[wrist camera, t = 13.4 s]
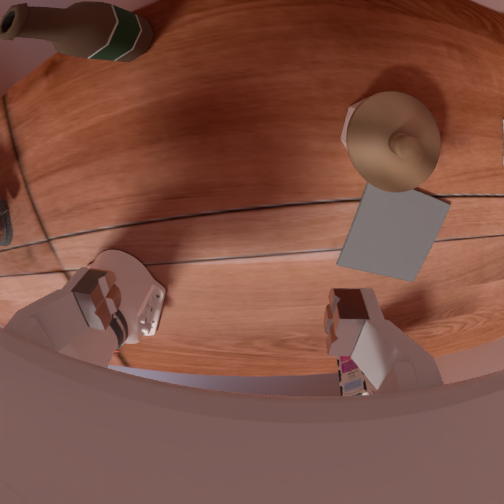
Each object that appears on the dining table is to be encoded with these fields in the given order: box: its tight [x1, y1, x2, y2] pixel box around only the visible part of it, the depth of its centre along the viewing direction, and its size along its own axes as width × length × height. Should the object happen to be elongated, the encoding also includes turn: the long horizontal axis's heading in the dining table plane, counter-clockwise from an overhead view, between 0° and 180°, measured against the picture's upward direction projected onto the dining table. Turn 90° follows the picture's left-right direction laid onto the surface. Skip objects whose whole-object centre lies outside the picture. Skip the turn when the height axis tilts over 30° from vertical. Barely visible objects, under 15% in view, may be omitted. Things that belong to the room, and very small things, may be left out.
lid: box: [346, 91, 441, 193], centre depth 27 cm, size 13×13×6 cm
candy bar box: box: [337, 356, 377, 396], centre depth 48 cm, size 11×5×16 cm, turn 36°
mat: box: [336, 182, 450, 282], centre depth 41 cm, size 16×16×1 cm
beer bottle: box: [0, 2, 154, 62], centre depth 18 cm, size 8×8×24 cm
